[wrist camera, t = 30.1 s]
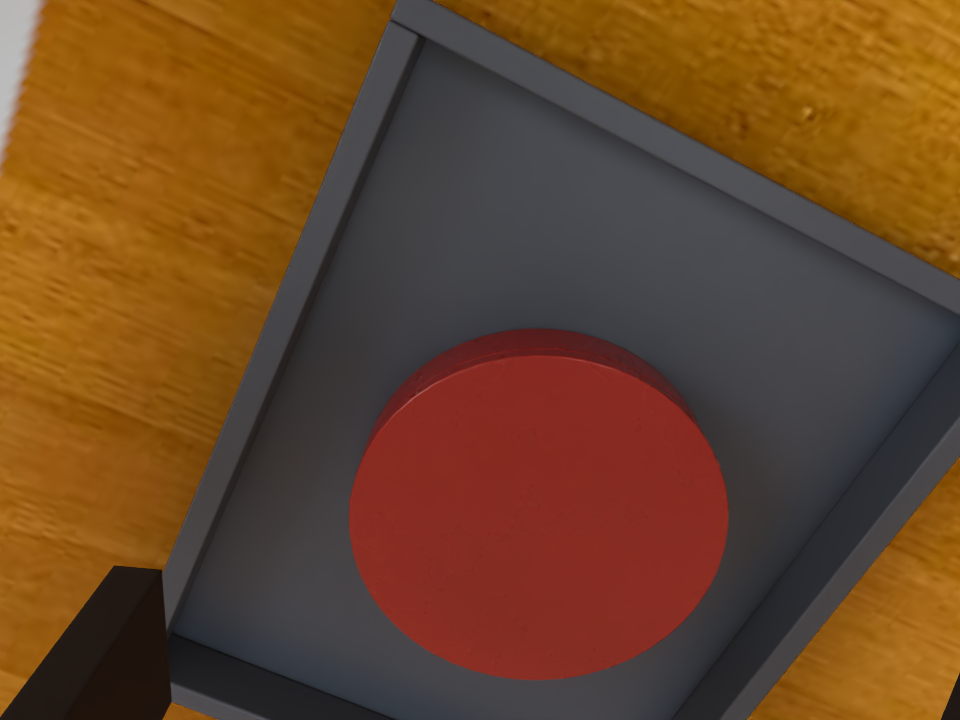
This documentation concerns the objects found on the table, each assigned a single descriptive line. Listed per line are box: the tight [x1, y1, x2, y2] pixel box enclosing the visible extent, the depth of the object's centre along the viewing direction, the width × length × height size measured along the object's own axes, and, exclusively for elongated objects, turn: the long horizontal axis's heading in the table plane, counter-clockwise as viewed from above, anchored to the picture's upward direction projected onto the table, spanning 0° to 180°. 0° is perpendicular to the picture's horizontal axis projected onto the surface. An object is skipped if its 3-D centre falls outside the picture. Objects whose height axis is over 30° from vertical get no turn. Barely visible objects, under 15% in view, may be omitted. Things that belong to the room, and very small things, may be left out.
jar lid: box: [349, 329, 729, 680], centre depth 18 cm, size 8×8×2 cm
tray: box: [162, 0, 960, 720], centre depth 18 cm, size 17×14×2 cm
